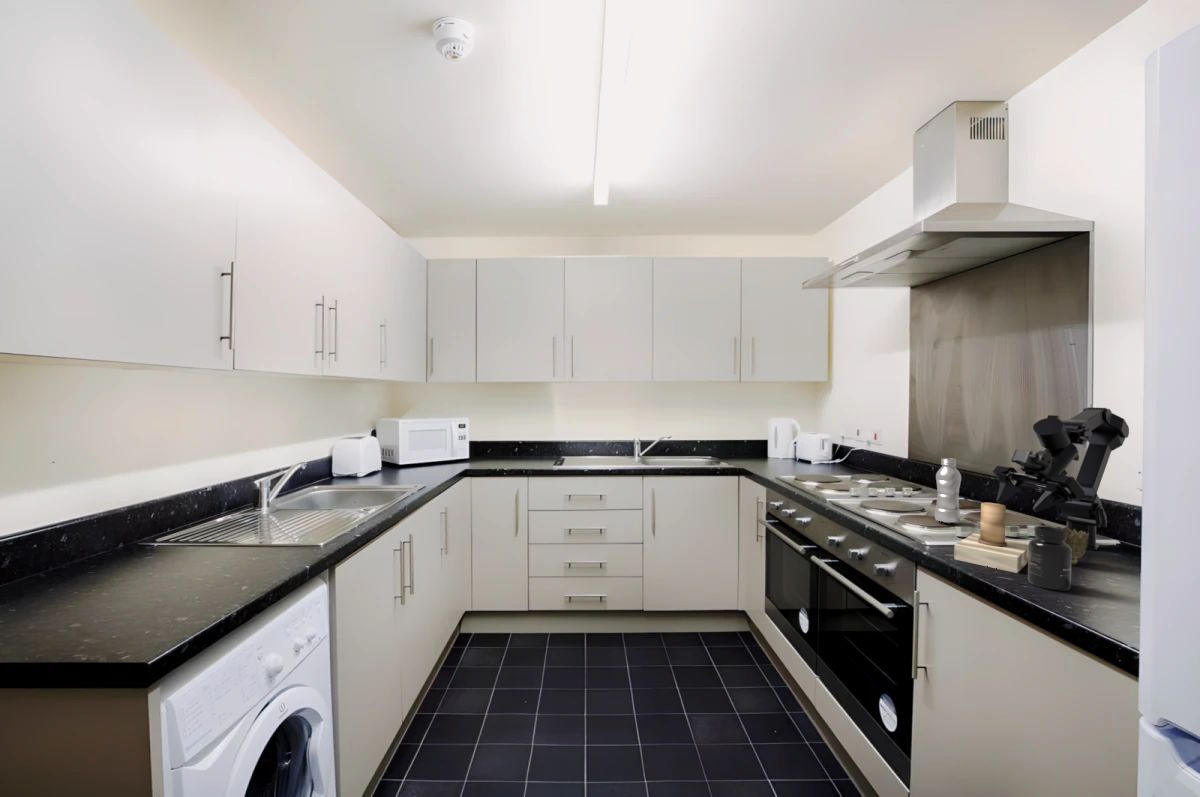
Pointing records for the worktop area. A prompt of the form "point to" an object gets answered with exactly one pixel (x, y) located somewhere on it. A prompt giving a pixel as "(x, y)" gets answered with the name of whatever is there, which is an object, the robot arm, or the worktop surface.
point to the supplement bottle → (1050, 559)
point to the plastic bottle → (948, 492)
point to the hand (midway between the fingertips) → (1015, 506)
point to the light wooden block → (992, 554)
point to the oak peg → (992, 525)
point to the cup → (1076, 543)
